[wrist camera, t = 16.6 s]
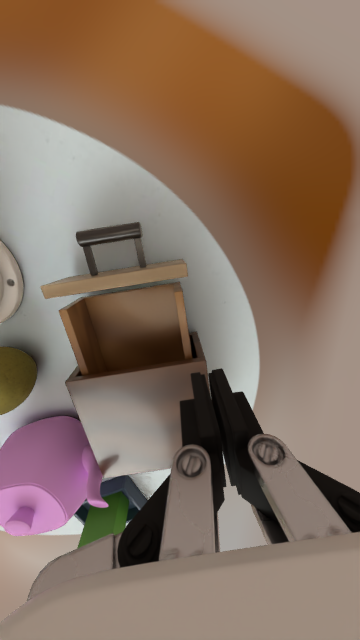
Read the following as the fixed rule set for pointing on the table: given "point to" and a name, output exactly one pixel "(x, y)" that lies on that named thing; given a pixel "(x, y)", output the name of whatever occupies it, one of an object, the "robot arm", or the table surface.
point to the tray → (113, 487)
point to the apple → (15, 378)
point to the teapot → (46, 476)
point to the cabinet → (136, 412)
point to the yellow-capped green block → (105, 519)
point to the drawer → (124, 309)
